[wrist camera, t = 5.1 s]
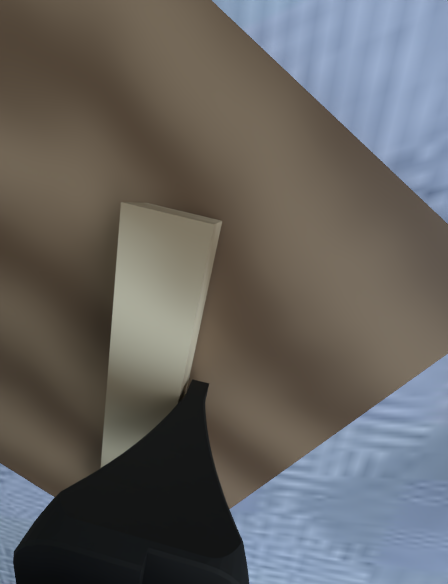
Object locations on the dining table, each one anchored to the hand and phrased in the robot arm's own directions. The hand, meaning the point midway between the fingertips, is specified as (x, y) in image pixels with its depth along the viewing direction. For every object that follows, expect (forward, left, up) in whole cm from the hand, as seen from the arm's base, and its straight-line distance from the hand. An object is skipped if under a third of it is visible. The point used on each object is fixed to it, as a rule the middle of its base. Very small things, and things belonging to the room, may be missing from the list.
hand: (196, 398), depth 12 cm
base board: (-1, +6, -2) cm, 7 cm away
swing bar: (-2, +1, -1) cm, 2 cm away
